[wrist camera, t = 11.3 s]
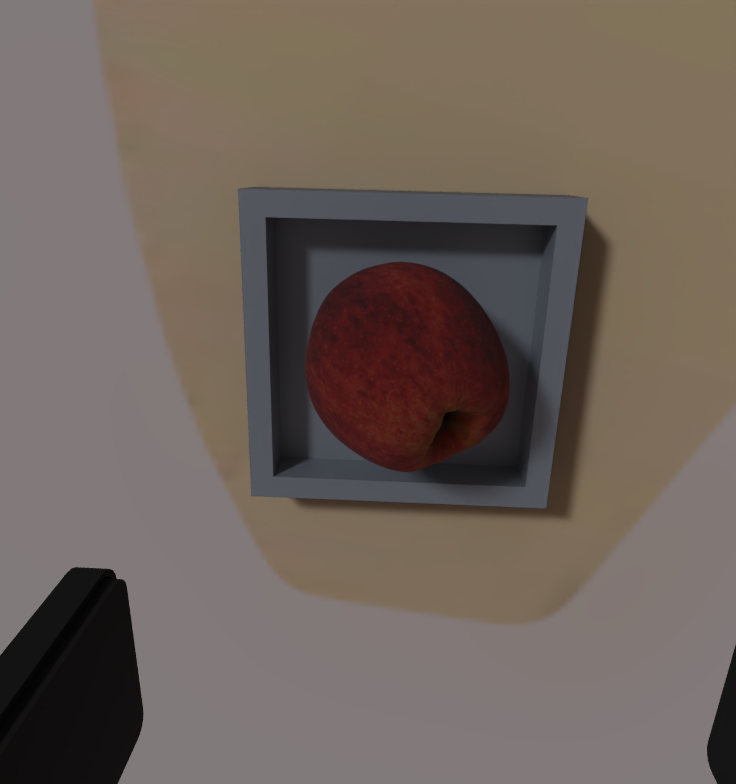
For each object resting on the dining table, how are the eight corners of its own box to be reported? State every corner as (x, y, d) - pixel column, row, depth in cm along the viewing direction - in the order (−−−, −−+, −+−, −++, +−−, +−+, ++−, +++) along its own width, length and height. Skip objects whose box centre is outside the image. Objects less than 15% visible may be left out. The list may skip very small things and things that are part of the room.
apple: (373, 450, 29) (366, 548, 22) (280, 308, 27) (235, 362, 20) (518, 372, 28) (564, 449, 20) (431, 215, 26) (445, 235, 18)
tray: (253, 187, 26) (237, 188, 24) (569, 195, 26) (588, 198, 23) (263, 469, 30) (251, 495, 28) (534, 480, 30) (546, 508, 28)
